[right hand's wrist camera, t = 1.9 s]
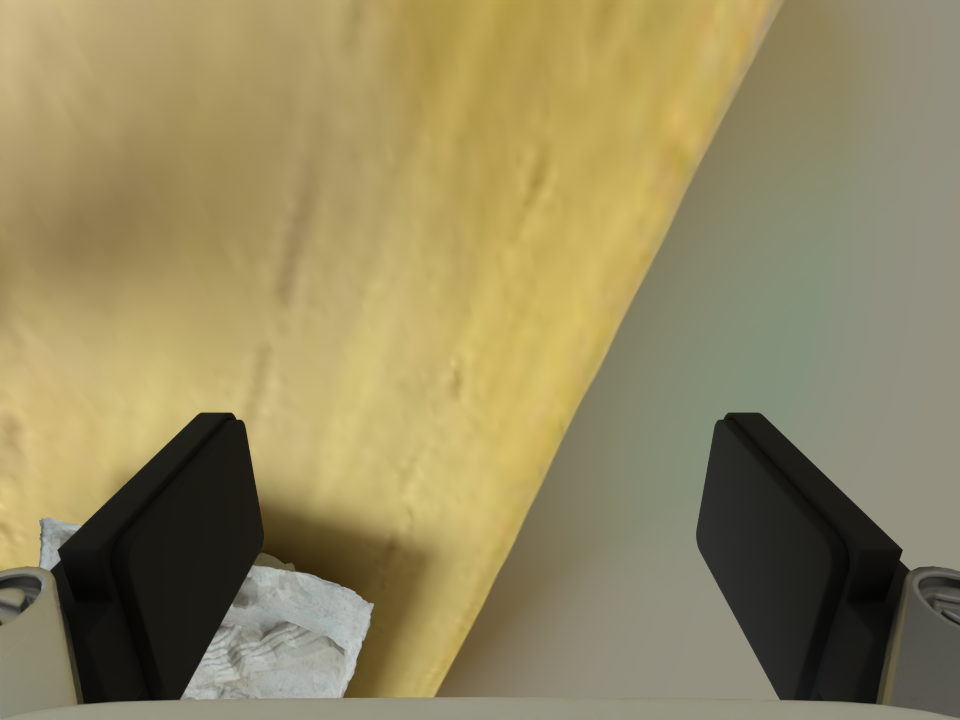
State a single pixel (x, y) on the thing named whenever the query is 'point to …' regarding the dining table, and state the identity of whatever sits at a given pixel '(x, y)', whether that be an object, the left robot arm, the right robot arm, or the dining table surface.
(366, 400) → the dining table surface
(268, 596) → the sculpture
